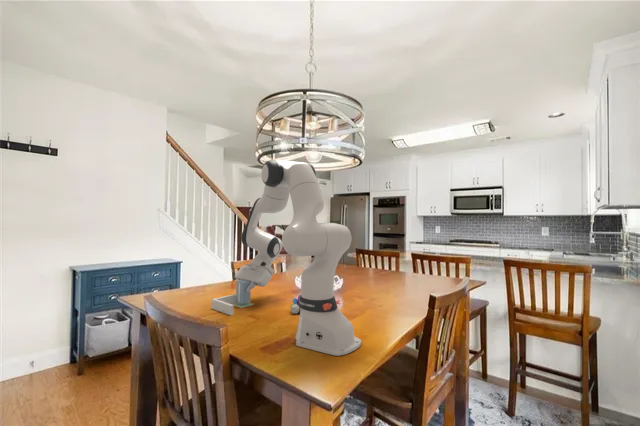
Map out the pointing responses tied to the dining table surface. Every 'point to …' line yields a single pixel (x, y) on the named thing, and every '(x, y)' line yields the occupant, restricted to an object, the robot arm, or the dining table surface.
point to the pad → (242, 305)
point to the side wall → (223, 307)
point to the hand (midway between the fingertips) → (242, 290)
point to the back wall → (227, 299)
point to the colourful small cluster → (295, 305)
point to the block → (242, 291)
